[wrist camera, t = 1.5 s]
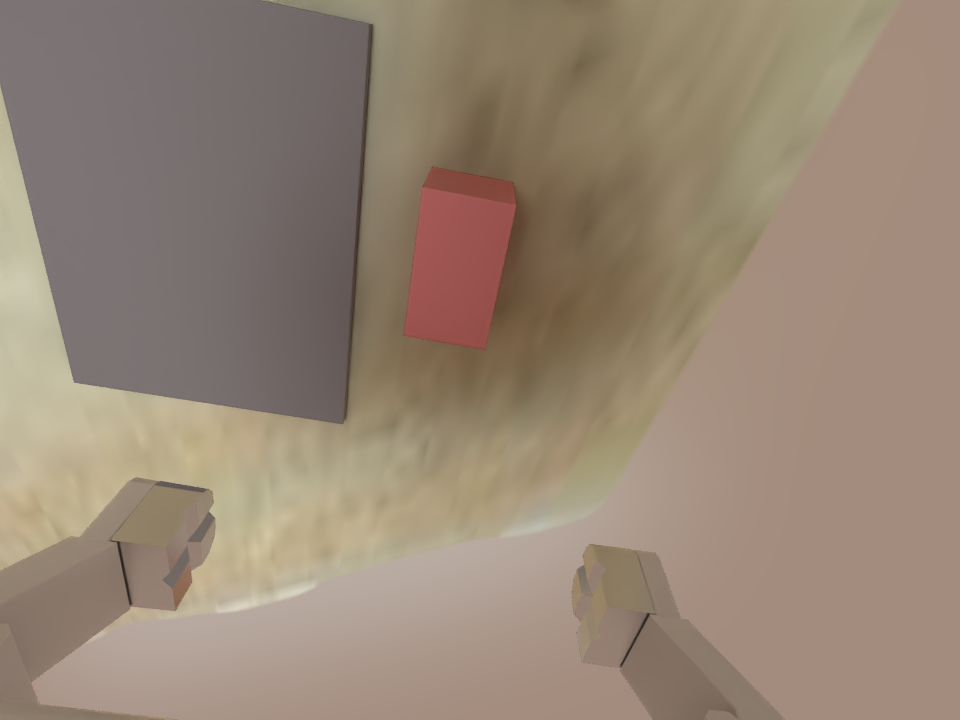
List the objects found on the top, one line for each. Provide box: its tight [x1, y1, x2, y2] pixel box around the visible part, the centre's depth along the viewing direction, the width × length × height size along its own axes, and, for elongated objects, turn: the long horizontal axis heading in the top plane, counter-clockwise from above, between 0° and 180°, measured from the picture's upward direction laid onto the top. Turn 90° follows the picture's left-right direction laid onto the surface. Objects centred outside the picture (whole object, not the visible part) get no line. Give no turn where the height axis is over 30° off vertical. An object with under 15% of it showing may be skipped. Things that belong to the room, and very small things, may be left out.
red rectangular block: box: [404, 167, 517, 349], centre depth 29 cm, size 8×4×5 cm, turn 170°
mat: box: [0, 0, 372, 424], centre depth 31 cm, size 24×18×1 cm
